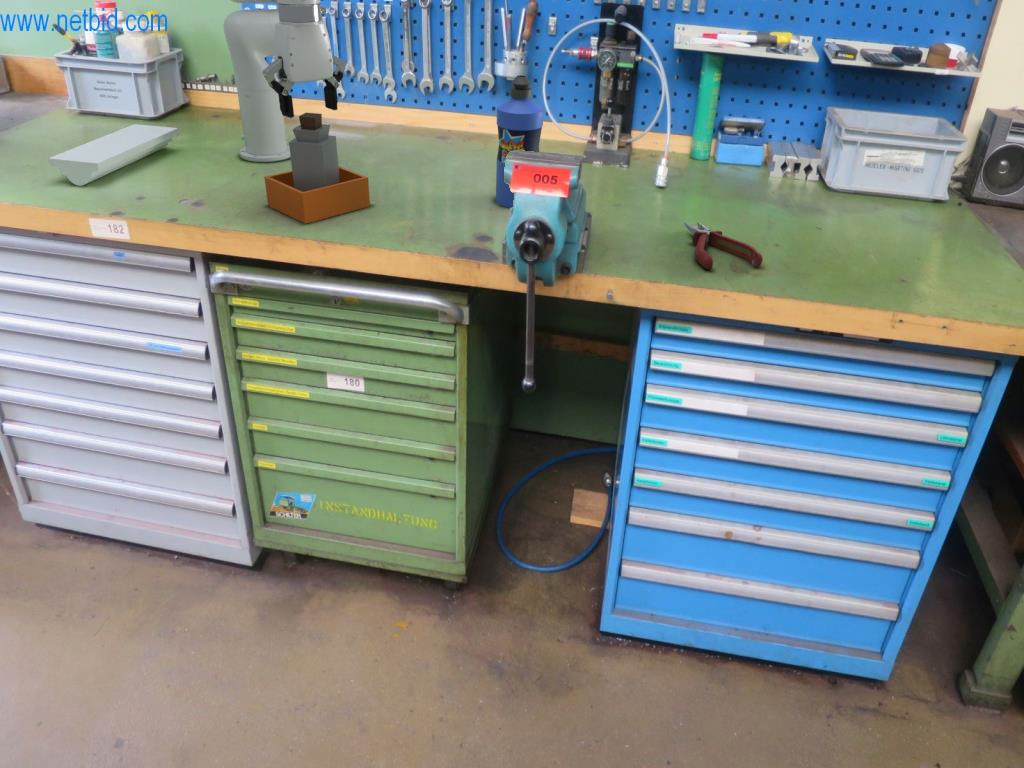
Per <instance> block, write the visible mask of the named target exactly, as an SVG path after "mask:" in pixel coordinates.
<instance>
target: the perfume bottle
mask: <svg viewBox="0 0 1024 768" xmlns="http://www.w3.org/2000/svg"><path fill="white" fill-rule="evenodd" d="M298 120H299V125H298V126H296V127H294V128H292V129H291V130H292V133H293V135H294V137H295V138H293V139H292V140H290V141H288V145H289V147H290V156H291V157H290V162H291V163H290V164H291V171H292V173H293V182H294V188H295V189H297V190H300V191H302V192H305V191H309V190H313V189H317V188H322V187H326V186H330V185H334V184H338V183H340V179H339V167H338V166H339V155H338V145H337V136H336V135H330V129H331V124H326V123H323V114H322V113H318V112H304V113H302V114H300V115H299V116H298Z"/></svg>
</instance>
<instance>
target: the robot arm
mask: <svg viewBox="0 0 1024 768" xmlns="http://www.w3.org/2000/svg"><path fill="white" fill-rule="evenodd" d="M230 1H231V2H233V3H238V4H264V3H265V4H271V3H274V4H276V5H277V8H273V9H272V8H271V9H263V8H262V9H260V8H259V9H241V10H235V11H232V12H230V13H229V14H228V15H226V16H225V18H224V21H223V33H224V37H225V41H226V44H227V48H228V51H229V54H230V55H229V56H230V58H231V62H232V68H233V72H234V73H233V74H234V79H235V84H236V91H237V92H236V93H237V98H238V106H239V112H240V119H241V127H242V133H243V134H241V135H240V138H241V140H242V141H244V147H241V149H239V151H238V153H239V157H240V158H241V159H242V160H245V161H249V162H254V163H255V162H257V163H271V162H279V161H284V160H287V159H291V156H290V147H289V144H287V136H286V135H287V134H286V127H285V118H284V117H286V118H289V119H292V118H295V111H294V102H293V97H292V95H291V94H290V92H291V90H292V88H293V86H294V84H303V83H310V82H318V81H322V82H323V83H324V84H325V85H324V86H323V95H324V106H325V108H326V109H328V110H332V111H338V102H339V101H338V100H339V99H338V89H339V88H340V83H341V81H342V79H343V78H344V73H345V70H346V67H347V62H346V60H343V59H341V58H339V57H337V56H335V55H334V54H333V52H332V46H331V39H330V35H329V32H328V28H327V24H326V22H325V21H323V14H327V7H326V6H325V5H322V3H321V0H230ZM273 56H274V61H273V62H272V63H270V64H269V63H268V62H267V61H266V58H267V57H273ZM334 65H335V70H334Z"/></svg>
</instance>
